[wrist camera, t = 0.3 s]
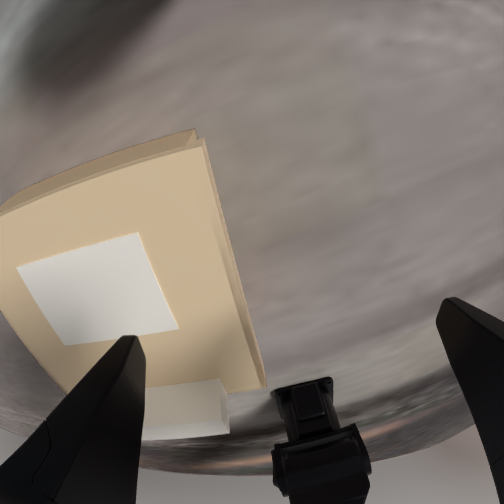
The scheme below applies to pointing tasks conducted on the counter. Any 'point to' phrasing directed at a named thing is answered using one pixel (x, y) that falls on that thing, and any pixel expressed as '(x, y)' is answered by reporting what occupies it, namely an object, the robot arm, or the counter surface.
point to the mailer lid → (136, 287)
